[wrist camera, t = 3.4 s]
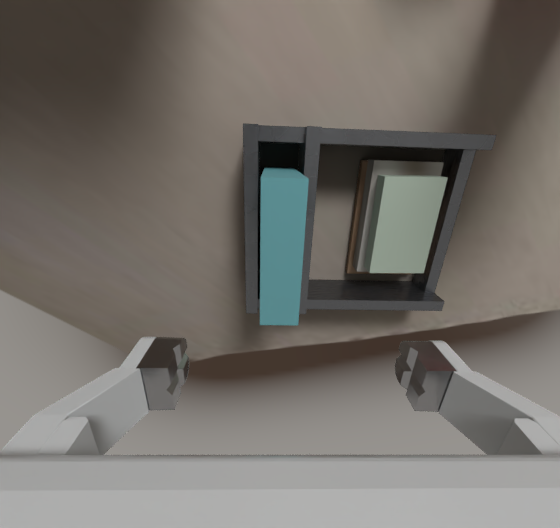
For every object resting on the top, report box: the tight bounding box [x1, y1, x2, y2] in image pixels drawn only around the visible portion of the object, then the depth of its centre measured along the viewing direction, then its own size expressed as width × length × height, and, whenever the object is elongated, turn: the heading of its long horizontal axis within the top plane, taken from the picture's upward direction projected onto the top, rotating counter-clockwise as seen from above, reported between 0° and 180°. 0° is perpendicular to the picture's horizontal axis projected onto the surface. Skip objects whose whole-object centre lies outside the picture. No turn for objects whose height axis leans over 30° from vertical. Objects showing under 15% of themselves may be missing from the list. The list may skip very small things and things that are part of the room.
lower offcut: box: [346, 160, 411, 274], centre depth 31 cm, size 8×13×2 cm, turn 178°
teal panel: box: [260, 167, 309, 325], centre depth 25 cm, size 3×11×13 cm, turn 178°
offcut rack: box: [243, 124, 496, 314], centre depth 28 cm, size 22×18×6 cm
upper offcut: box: [364, 175, 448, 273], centre depth 28 cm, size 6×10×2 cm, turn 179°
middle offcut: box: [353, 160, 444, 272], centre depth 30 cm, size 7×12×2 cm, turn 178°
